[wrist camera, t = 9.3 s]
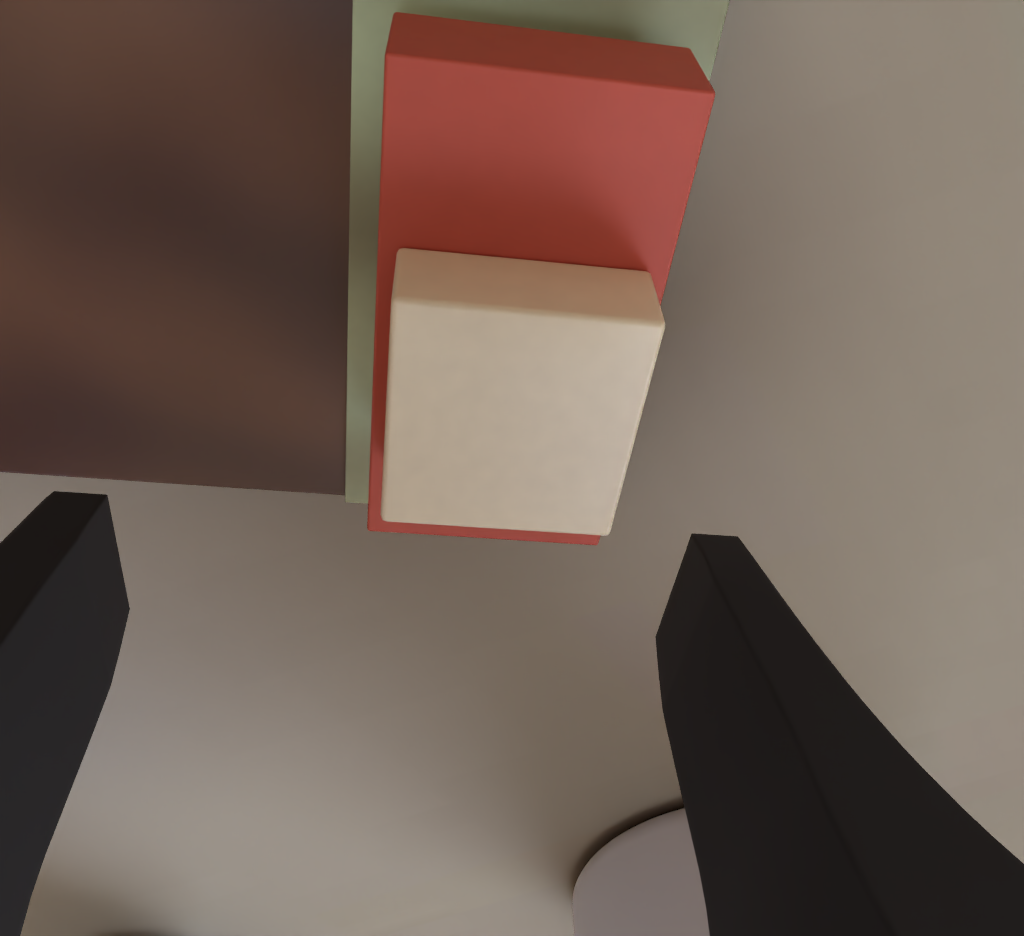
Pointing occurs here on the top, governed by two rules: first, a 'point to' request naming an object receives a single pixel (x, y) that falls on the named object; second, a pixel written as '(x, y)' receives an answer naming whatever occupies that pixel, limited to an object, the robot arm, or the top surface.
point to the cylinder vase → (643, 884)
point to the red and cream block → (521, 271)
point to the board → (213, 227)
